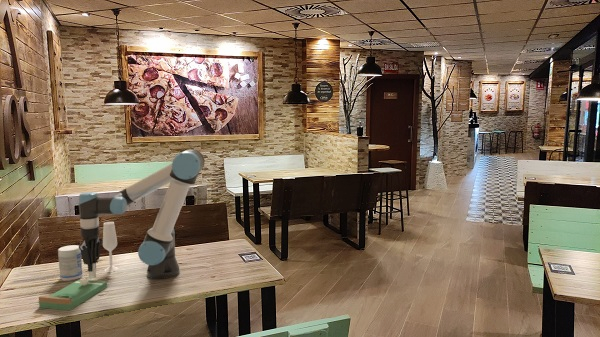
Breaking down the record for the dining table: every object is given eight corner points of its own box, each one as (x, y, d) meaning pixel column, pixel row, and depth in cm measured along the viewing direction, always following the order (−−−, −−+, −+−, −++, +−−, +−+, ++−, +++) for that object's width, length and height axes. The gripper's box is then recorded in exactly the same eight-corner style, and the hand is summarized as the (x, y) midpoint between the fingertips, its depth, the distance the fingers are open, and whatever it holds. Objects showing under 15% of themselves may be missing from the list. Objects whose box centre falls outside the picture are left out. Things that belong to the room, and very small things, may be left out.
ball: (89, 284, 193) (89, 277, 193) (84, 287, 190) (84, 280, 190) (83, 284, 194) (82, 277, 193) (78, 286, 191) (77, 279, 190)
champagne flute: (119, 266, 222) (116, 220, 219) (118, 271, 216) (115, 224, 213) (104, 268, 220) (102, 221, 217) (103, 272, 214) (100, 225, 211)
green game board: (107, 286, 197) (106, 277, 196) (70, 310, 173) (69, 299, 173) (79, 284, 199) (78, 275, 199) (39, 307, 176) (38, 297, 175)
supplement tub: (83, 278, 206) (81, 248, 204) (61, 283, 201) (58, 252, 199) (81, 272, 214) (79, 243, 212) (59, 276, 209) (57, 246, 207)
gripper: (91, 222, 202) (94, 271, 205) (72, 230, 189) (75, 282, 192) (106, 223, 200) (108, 272, 204) (87, 231, 188) (90, 283, 191)
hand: (92, 277), depth 198 cm, fingers closed
